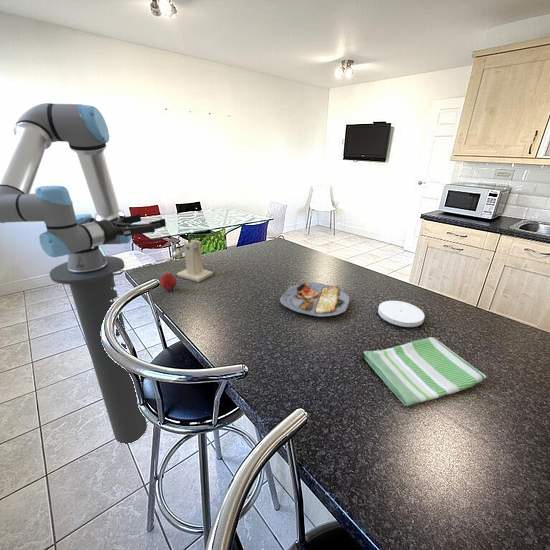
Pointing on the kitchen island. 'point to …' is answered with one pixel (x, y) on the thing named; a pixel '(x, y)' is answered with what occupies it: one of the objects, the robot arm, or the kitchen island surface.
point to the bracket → (194, 263)
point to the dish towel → (422, 370)
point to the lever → (178, 253)
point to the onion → (168, 281)
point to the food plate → (315, 299)
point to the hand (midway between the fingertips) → (152, 220)
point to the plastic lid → (401, 313)
